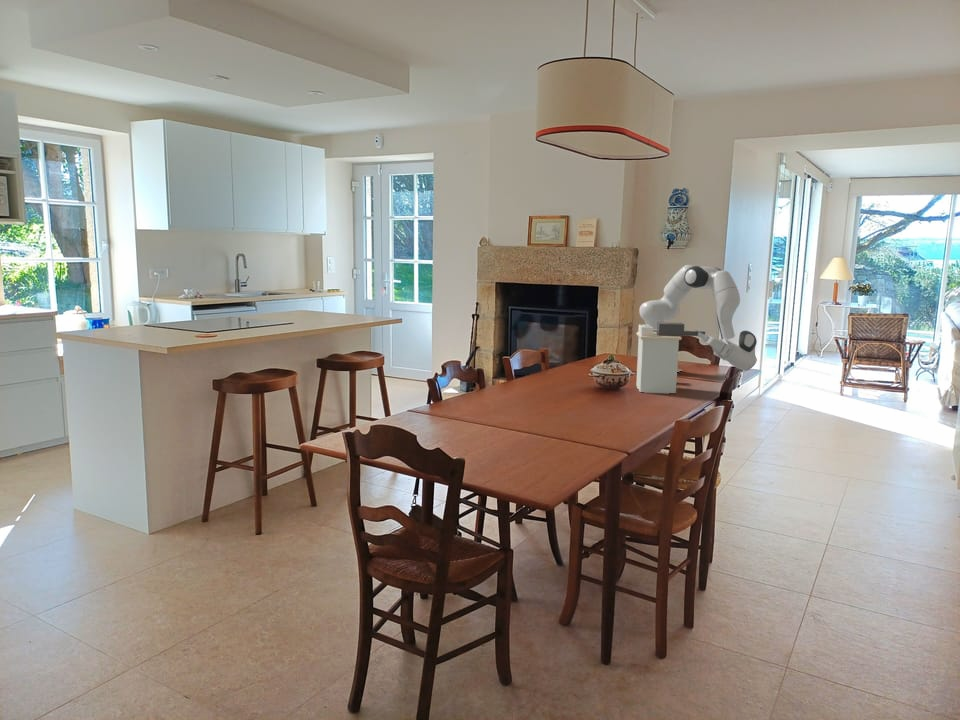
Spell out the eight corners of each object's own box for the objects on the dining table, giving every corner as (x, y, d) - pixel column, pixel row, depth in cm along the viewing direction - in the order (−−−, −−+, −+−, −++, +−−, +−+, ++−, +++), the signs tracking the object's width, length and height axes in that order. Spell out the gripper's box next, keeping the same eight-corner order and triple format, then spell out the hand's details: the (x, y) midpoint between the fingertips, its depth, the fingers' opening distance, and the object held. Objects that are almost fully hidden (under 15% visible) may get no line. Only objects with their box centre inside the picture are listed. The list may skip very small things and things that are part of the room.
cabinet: (671, 386, 328) (674, 333, 324) (678, 394, 311) (681, 337, 306) (633, 385, 330) (636, 332, 326) (638, 392, 312) (641, 336, 308)
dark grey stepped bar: (702, 334, 317) (703, 323, 317) (706, 336, 311) (707, 324, 310) (651, 333, 320) (651, 322, 319) (653, 335, 313) (653, 323, 312)
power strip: (649, 333, 322) (649, 324, 322) (652, 336, 311) (652, 327, 310) (638, 332, 323) (638, 324, 322) (641, 335, 311) (641, 326, 311)
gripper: (721, 339, 324) (696, 324, 324) (731, 345, 303) (705, 329, 304) (713, 350, 325) (688, 335, 325) (723, 357, 305) (697, 341, 305)
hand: (696, 332), depth 314 cm, fingers open, 5 cm apart
